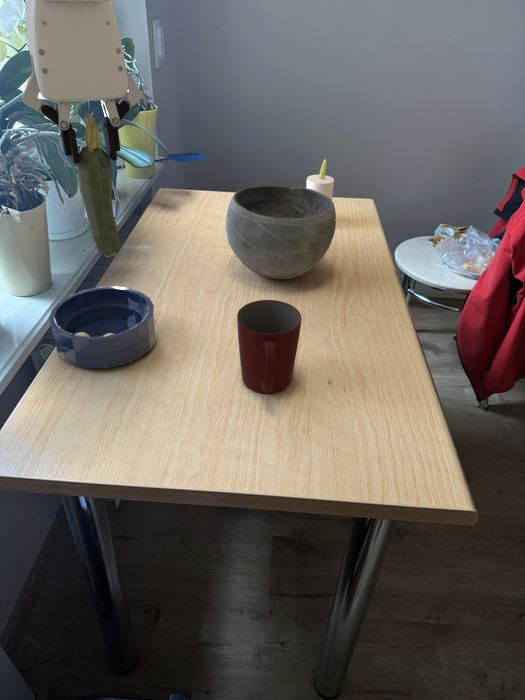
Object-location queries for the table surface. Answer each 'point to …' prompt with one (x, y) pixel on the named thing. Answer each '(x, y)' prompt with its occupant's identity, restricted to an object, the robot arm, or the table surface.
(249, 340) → the mug
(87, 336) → the beige small ball
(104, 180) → the vegetable
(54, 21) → the robot arm
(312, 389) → the table surface
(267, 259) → the bowl
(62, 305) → the mixing bowl
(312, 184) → the candle
